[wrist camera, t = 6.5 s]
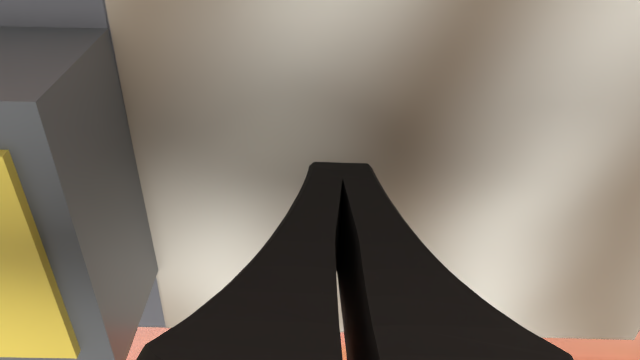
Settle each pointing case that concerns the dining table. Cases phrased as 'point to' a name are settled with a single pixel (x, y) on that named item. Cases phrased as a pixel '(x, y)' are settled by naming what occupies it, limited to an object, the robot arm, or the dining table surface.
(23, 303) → the block
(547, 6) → the subfloor plank
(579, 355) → the dining table surface
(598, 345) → the dining table surface
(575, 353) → the dining table surface
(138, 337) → the dining table surface
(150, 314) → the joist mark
